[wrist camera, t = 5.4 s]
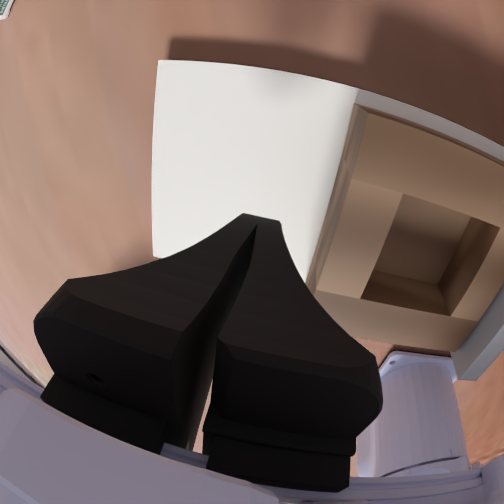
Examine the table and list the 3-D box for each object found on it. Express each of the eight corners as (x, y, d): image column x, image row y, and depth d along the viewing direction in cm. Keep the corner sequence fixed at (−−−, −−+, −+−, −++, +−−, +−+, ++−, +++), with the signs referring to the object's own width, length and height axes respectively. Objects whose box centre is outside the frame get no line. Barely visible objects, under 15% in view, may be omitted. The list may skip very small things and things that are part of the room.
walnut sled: (440, 309, 17) (455, 352, 14) (305, 282, 17) (301, 327, 14) (510, 165, 11) (547, 192, 8) (354, 102, 12) (368, 112, 9)
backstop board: (458, 311, 18) (483, 381, 13) (159, 247, 19) (113, 311, 14) (531, 162, 12) (594, 209, 7) (167, 59, 13) (94, 62, 8)
